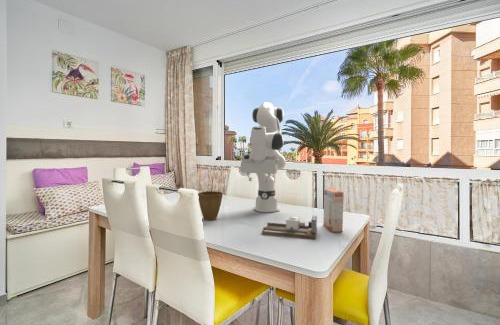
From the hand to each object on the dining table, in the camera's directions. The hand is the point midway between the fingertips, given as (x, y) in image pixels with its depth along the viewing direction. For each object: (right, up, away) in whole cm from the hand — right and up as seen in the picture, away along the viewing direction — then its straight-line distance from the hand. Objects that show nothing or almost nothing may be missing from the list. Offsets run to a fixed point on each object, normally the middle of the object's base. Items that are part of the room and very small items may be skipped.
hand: (258, 181), depth 150 cm
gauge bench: (+16, -26, -10) cm, 32 cm away
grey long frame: (+16, -24, -10) cm, 31 cm away
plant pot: (-29, -24, +16) cm, 41 cm away
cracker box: (+40, -26, -3) cm, 47 cm away
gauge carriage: (+18, -24, -12) cm, 32 cm away
